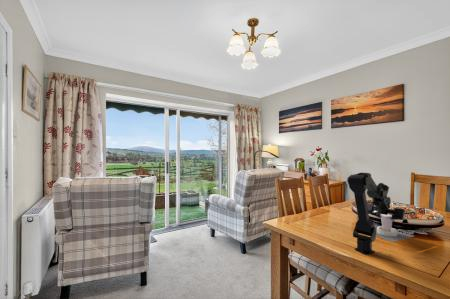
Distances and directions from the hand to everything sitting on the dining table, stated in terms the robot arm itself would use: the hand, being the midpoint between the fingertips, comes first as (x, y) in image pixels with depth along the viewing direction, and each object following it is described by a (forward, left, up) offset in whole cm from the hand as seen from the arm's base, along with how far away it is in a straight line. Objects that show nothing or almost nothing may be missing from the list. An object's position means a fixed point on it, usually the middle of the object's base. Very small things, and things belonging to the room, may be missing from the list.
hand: (387, 219), depth 129 cm
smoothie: (-1, 0, -7) cm, 7 cm away
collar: (-1, 0, -8) cm, 8 cm away
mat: (-1, 0, -9) cm, 9 cm away
